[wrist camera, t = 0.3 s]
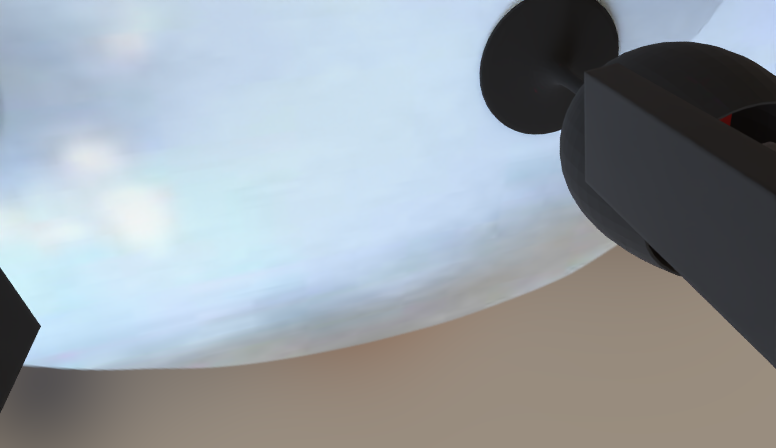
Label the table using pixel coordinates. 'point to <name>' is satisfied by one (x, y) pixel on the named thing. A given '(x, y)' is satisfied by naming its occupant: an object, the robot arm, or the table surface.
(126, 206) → the table surface
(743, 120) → the wine glass
